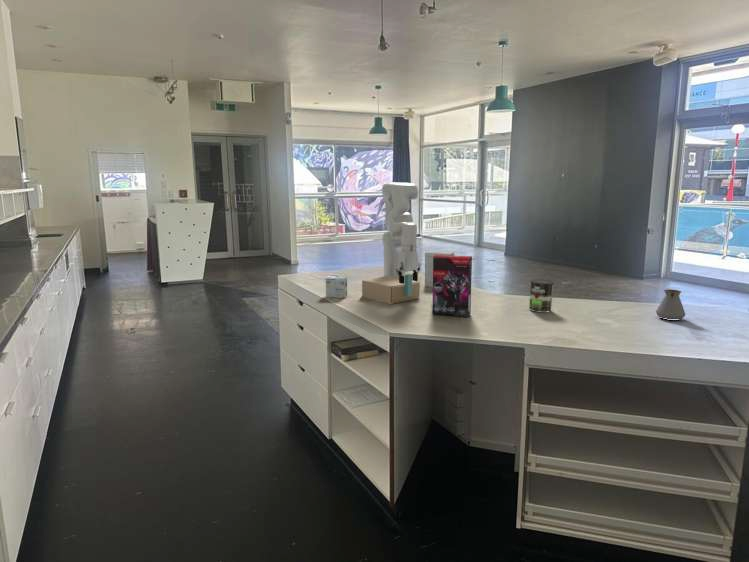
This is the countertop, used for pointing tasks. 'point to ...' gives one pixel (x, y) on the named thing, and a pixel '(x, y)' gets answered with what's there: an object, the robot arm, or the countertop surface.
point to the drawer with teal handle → (406, 290)
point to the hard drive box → (431, 266)
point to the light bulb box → (336, 286)
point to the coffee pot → (671, 306)
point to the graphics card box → (452, 285)
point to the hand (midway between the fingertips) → (408, 282)
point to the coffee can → (541, 295)
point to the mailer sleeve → (381, 288)
